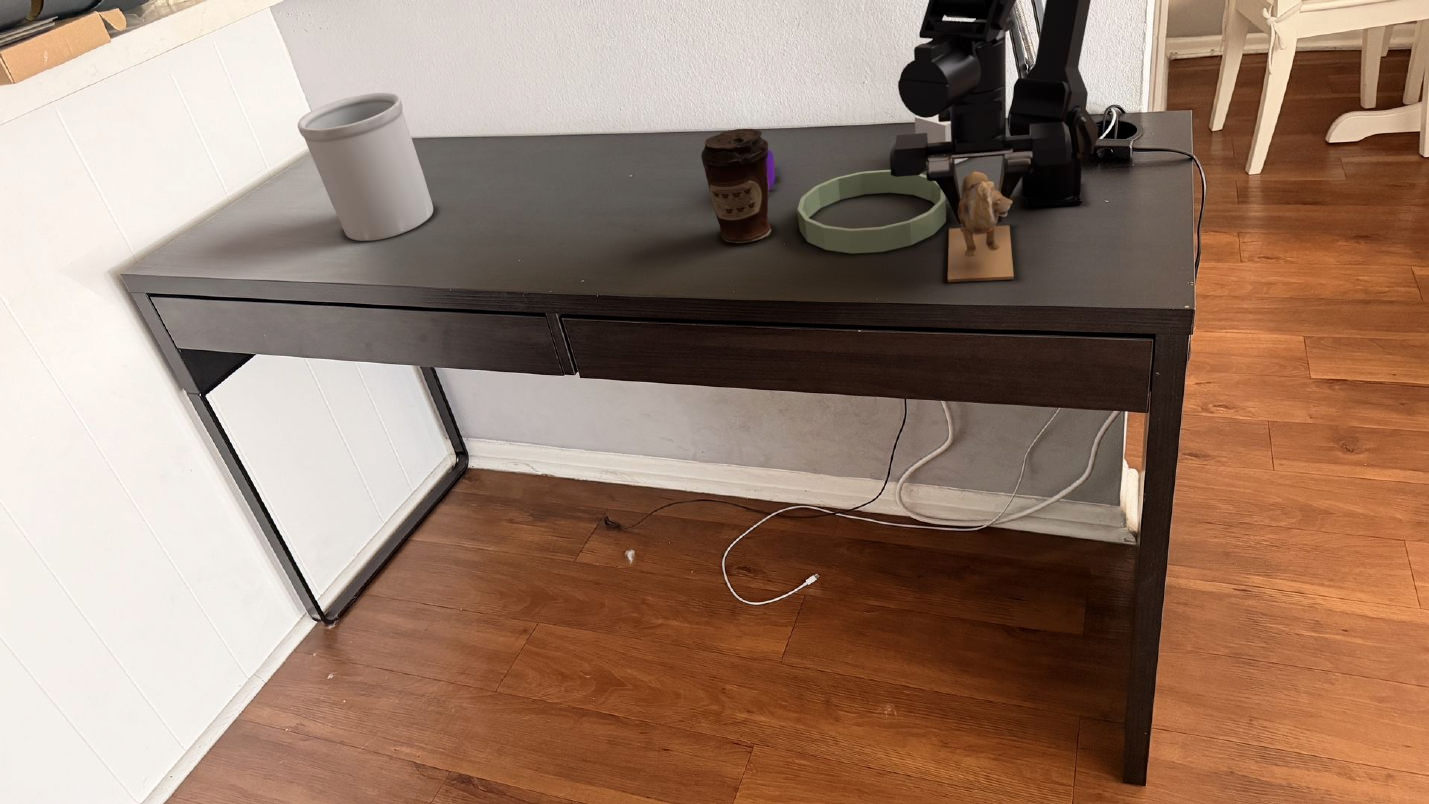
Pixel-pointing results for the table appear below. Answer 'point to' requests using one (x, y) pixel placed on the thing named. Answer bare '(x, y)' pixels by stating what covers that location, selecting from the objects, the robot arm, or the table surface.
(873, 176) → the pale green faceted ring
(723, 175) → the coffee cup
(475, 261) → the table surface
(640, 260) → the table surface
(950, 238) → the cork mat
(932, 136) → the white cube
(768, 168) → the crystal
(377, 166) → the utensil holder
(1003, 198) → the lion figurine
